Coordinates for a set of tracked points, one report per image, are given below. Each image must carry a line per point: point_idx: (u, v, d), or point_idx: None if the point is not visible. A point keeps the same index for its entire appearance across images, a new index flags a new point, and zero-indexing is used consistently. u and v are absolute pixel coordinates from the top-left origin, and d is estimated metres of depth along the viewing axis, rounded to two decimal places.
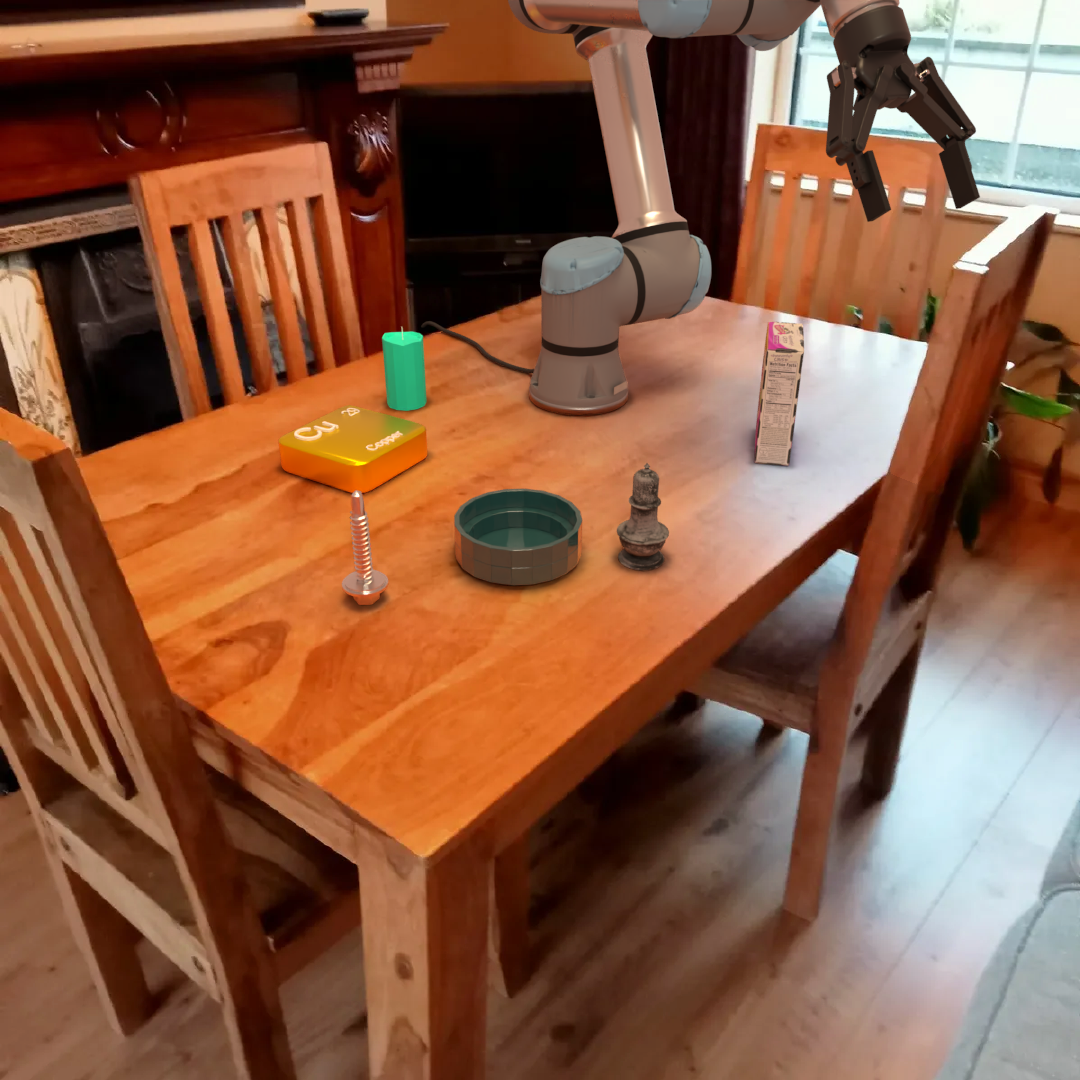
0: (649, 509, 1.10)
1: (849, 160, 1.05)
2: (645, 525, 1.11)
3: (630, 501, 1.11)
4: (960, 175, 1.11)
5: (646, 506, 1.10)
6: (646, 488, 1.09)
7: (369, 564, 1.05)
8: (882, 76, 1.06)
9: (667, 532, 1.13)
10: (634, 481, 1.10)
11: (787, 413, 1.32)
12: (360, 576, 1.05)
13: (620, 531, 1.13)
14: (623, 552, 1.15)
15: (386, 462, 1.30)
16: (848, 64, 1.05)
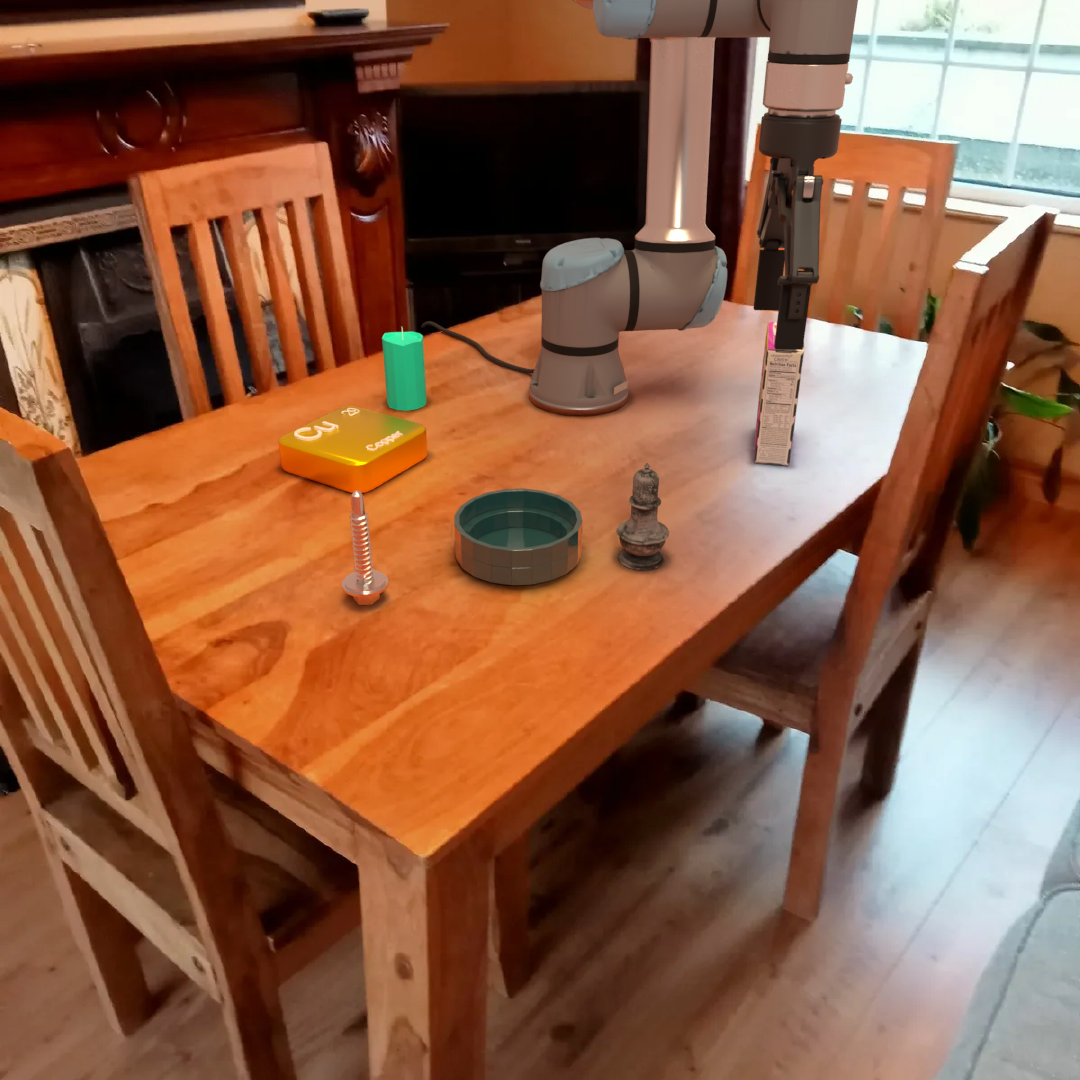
0: (649, 509, 1.10)
1: (797, 289, 0.97)
2: (645, 525, 1.11)
3: (630, 501, 1.11)
4: (773, 283, 1.11)
5: (646, 506, 1.10)
6: (646, 488, 1.09)
7: (369, 564, 1.05)
8: None
9: (667, 532, 1.13)
10: (634, 481, 1.10)
11: (787, 413, 1.32)
12: (360, 576, 1.05)
13: (620, 531, 1.13)
14: (623, 552, 1.15)
15: (386, 462, 1.30)
16: None
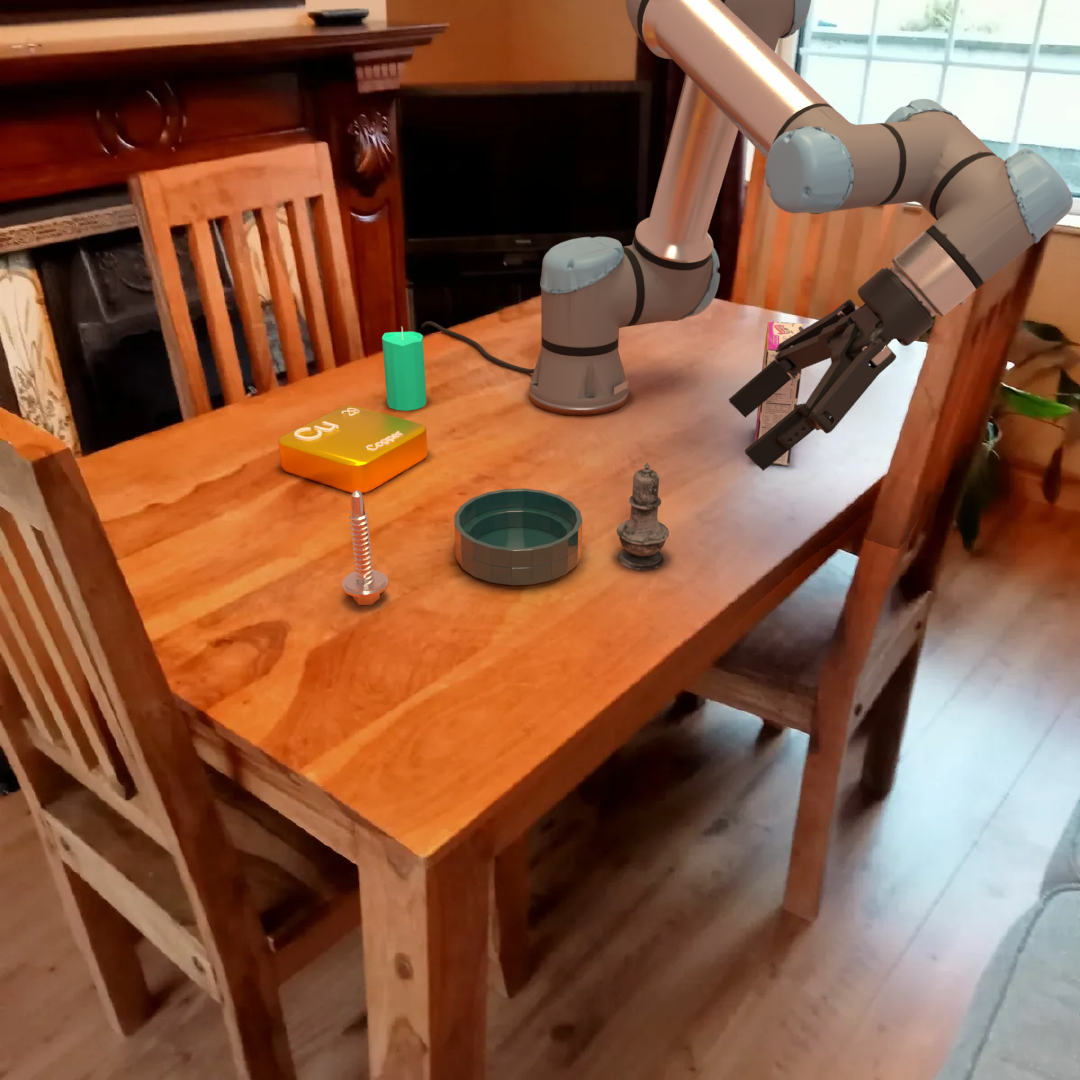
0: (649, 509, 1.10)
1: (806, 424, 0.97)
2: (645, 525, 1.11)
3: (630, 501, 1.11)
4: (761, 394, 1.11)
5: (646, 506, 1.10)
6: (646, 488, 1.09)
7: (369, 564, 1.05)
8: None
9: (667, 532, 1.13)
10: (634, 481, 1.10)
11: (787, 413, 1.32)
12: (360, 576, 1.05)
13: (620, 531, 1.13)
14: (623, 552, 1.15)
15: (386, 462, 1.30)
16: None
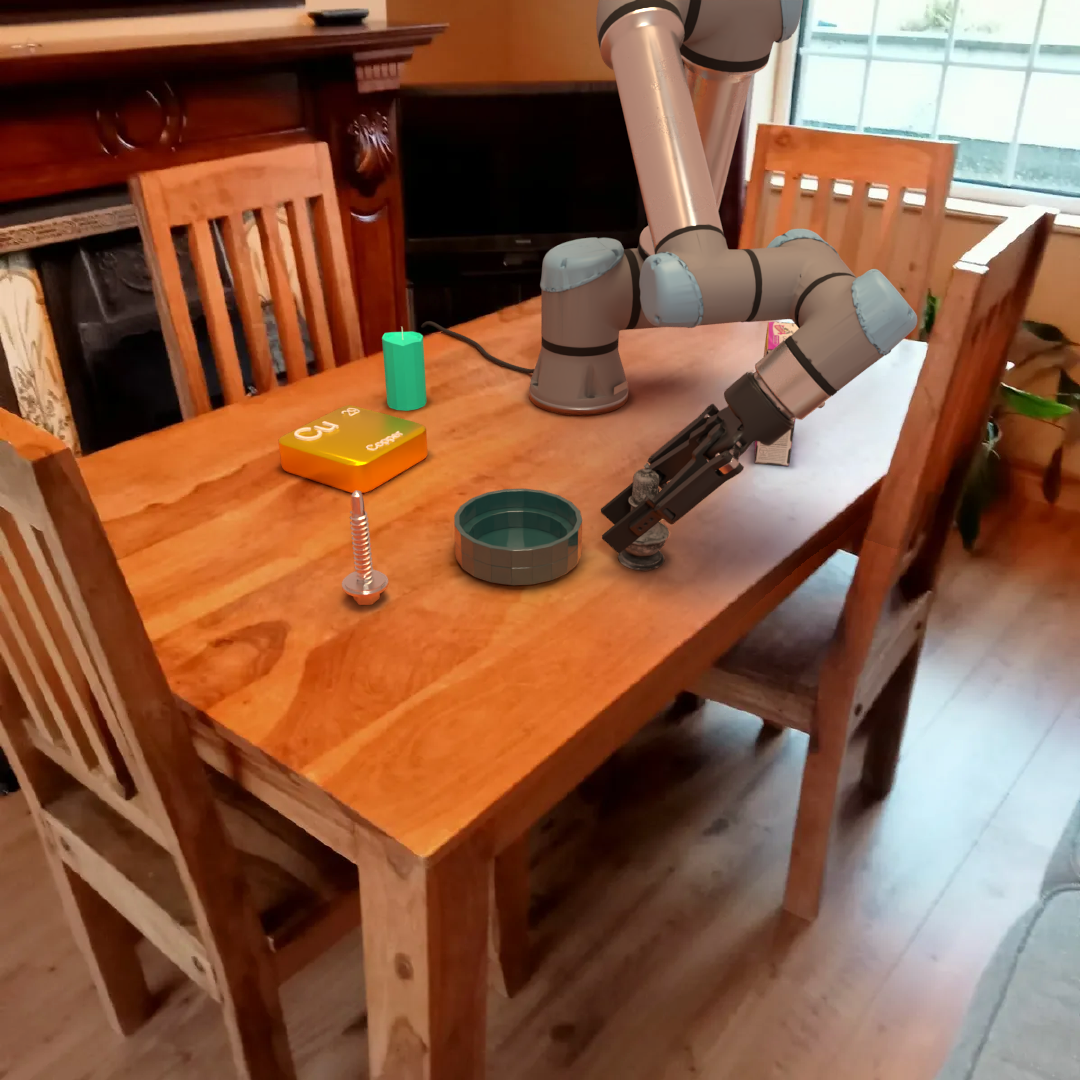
0: None
1: (653, 515, 1.07)
2: None
3: (630, 501, 1.11)
4: None
5: None
6: (646, 488, 1.09)
7: (369, 564, 1.05)
8: None
9: (667, 532, 1.13)
10: (634, 481, 1.10)
11: None
12: (360, 576, 1.05)
13: None
14: (623, 552, 1.15)
15: (386, 462, 1.30)
16: None
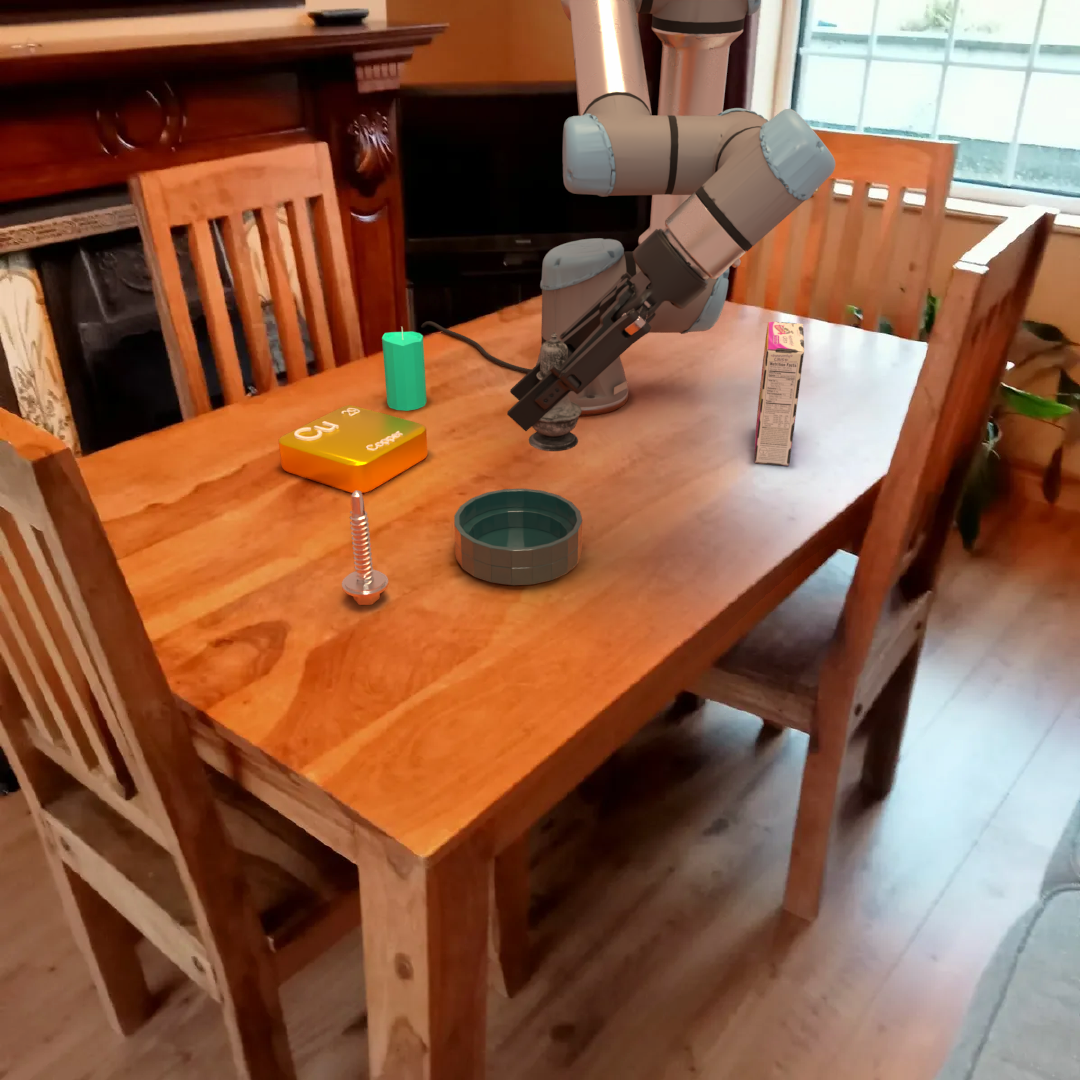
0: None
1: (559, 385, 1.00)
2: None
3: (538, 375, 1.04)
4: None
5: None
6: (553, 359, 1.02)
7: (369, 564, 1.05)
8: None
9: (579, 410, 1.06)
10: (541, 352, 1.02)
11: (787, 413, 1.32)
12: (360, 576, 1.05)
13: None
14: (534, 434, 1.08)
15: (386, 462, 1.30)
16: None
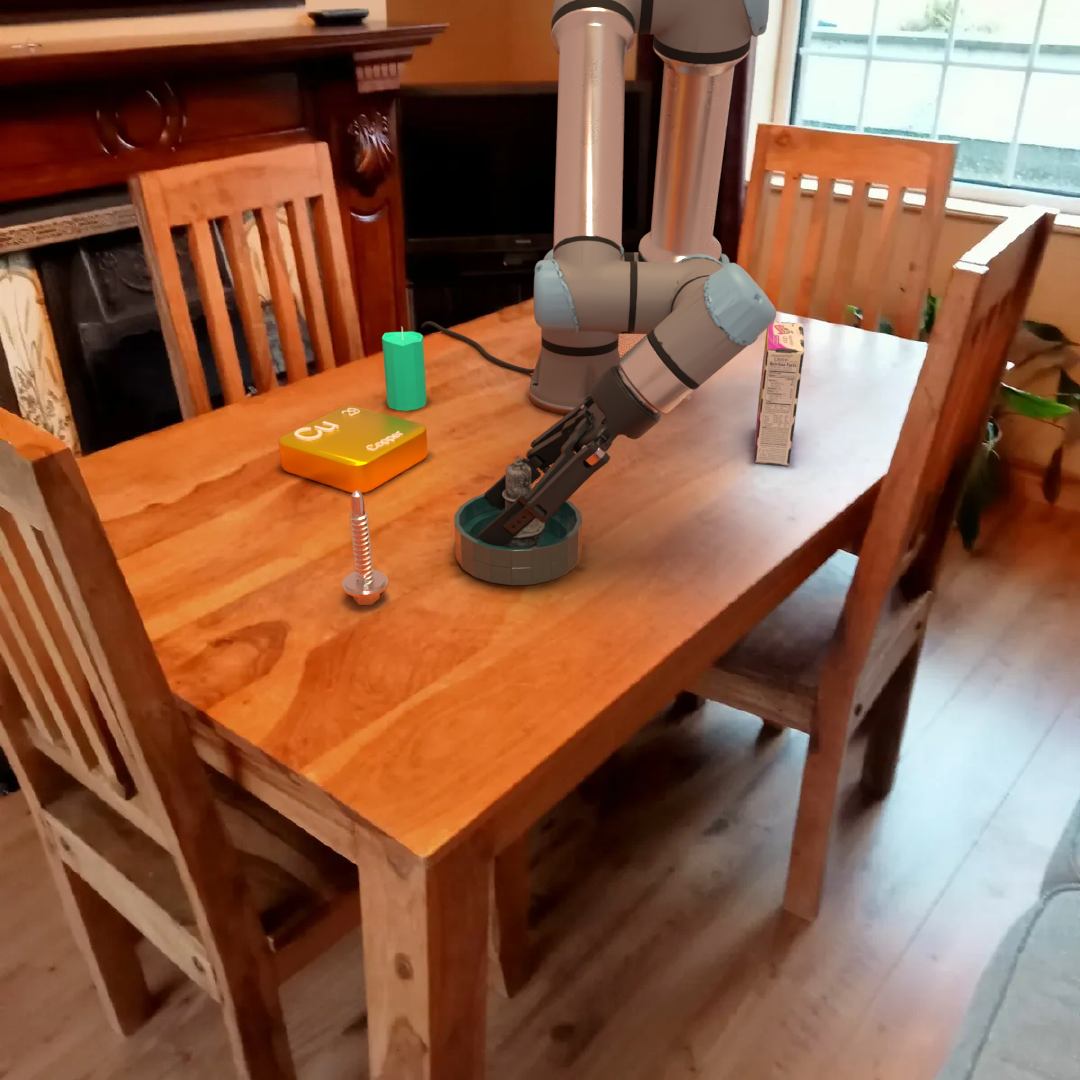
0: None
1: (526, 513, 1.05)
2: None
3: (503, 494, 1.11)
4: None
5: None
6: (517, 481, 1.09)
7: (369, 564, 1.05)
8: None
9: (542, 525, 1.13)
10: (506, 474, 1.10)
11: (787, 413, 1.32)
12: (360, 576, 1.05)
13: None
14: None
15: (386, 462, 1.30)
16: None
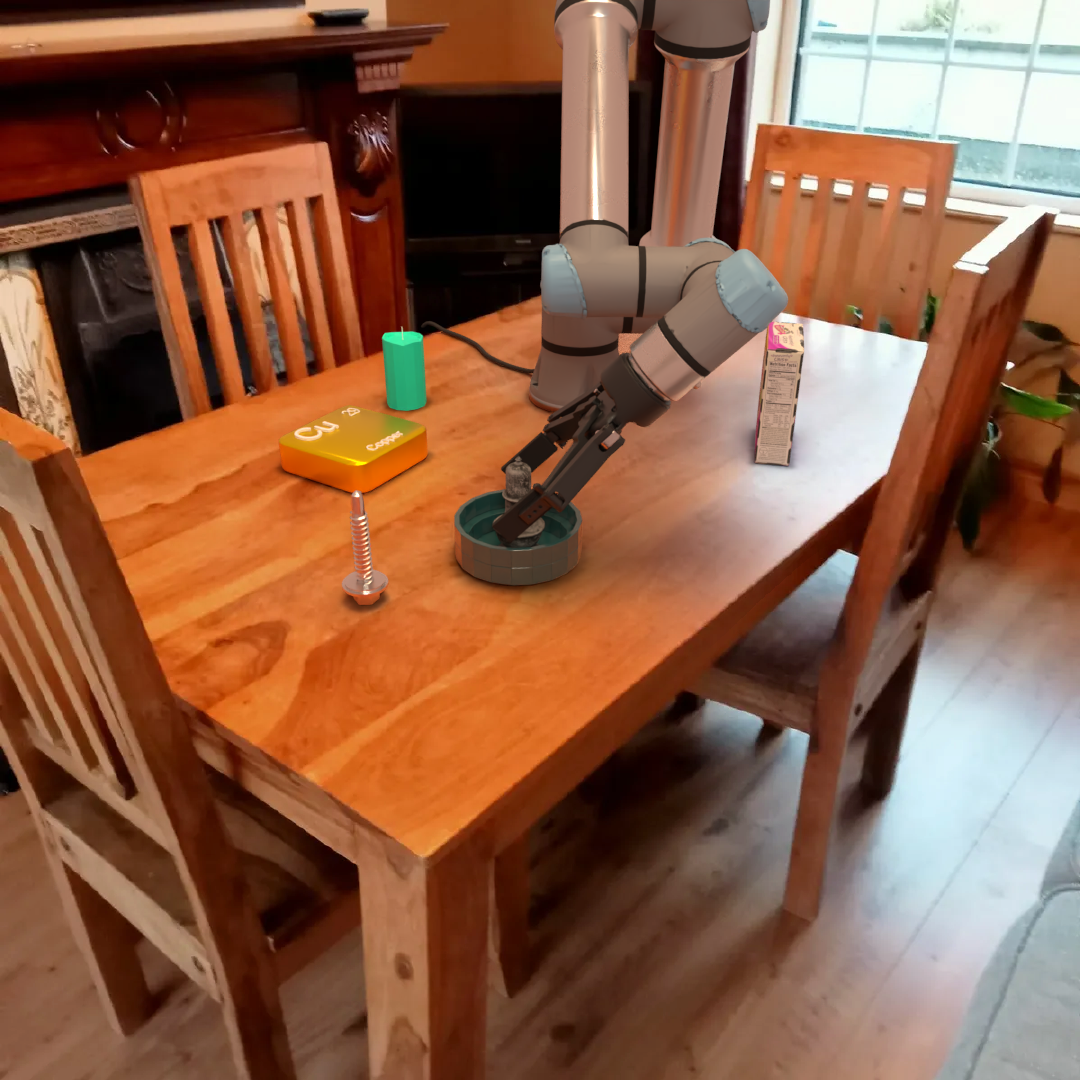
0: None
1: (542, 502, 1.02)
2: None
3: (503, 494, 1.11)
4: (530, 463, 1.16)
5: (518, 499, 1.10)
6: (517, 481, 1.09)
7: (369, 564, 1.05)
8: None
9: (542, 525, 1.13)
10: (506, 474, 1.10)
11: (787, 413, 1.32)
12: (360, 576, 1.05)
13: None
14: (501, 545, 1.15)
15: (386, 462, 1.30)
16: None
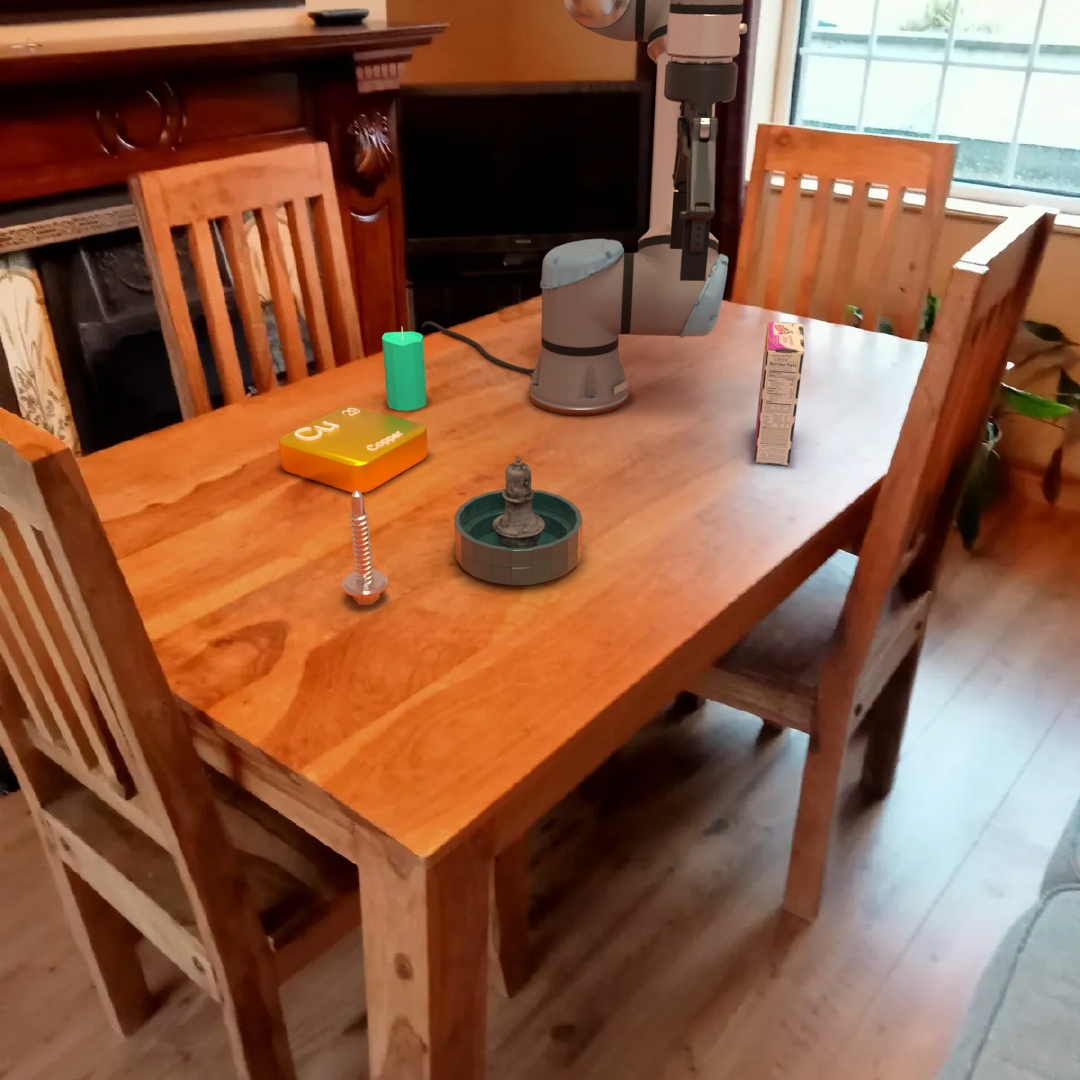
0: (521, 502, 1.10)
1: (697, 223, 1.06)
2: (519, 518, 1.11)
3: (503, 494, 1.11)
4: None
5: (518, 499, 1.10)
6: (517, 481, 1.09)
7: (369, 564, 1.05)
8: (715, 135, 1.07)
9: (542, 525, 1.13)
10: (506, 474, 1.10)
11: (787, 413, 1.32)
12: (360, 576, 1.05)
13: (496, 524, 1.13)
14: (501, 545, 1.15)
15: (386, 462, 1.30)
16: (716, 121, 1.03)
